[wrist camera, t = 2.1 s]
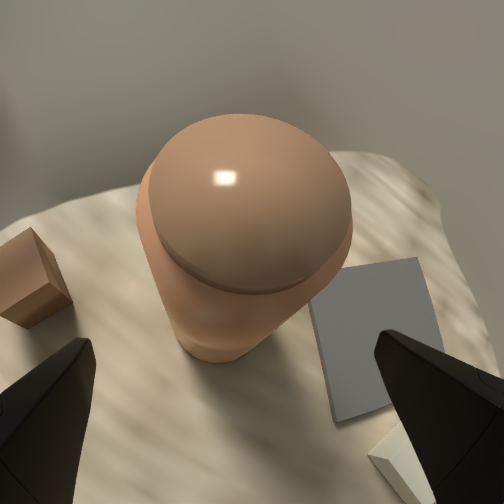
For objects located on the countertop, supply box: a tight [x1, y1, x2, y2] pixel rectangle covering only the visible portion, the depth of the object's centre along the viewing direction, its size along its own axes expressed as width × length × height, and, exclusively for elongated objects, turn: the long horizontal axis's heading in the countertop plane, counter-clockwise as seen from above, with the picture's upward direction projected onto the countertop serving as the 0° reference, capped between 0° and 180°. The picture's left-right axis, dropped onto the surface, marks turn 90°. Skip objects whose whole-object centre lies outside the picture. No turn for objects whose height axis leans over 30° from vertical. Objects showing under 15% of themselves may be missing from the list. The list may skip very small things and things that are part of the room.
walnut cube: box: [0, 227, 73, 329], centre depth 17 cm, size 4×4×4 cm
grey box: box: [367, 421, 436, 504], centre depth 16 cm, size 6×4×3 cm, turn 35°
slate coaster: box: [308, 257, 445, 422], centre depth 21 cm, size 10×10×1 cm
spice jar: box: [136, 114, 353, 363], centre depth 14 cm, size 6×6×14 cm
